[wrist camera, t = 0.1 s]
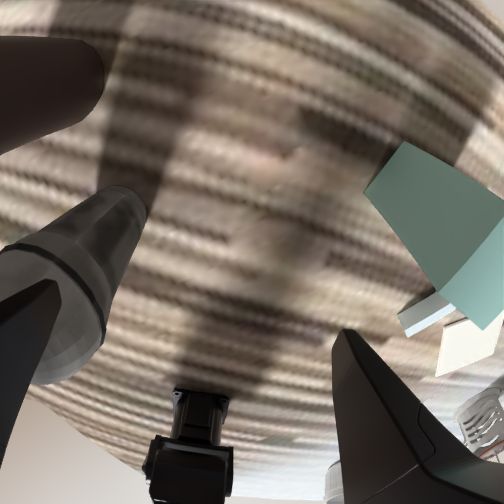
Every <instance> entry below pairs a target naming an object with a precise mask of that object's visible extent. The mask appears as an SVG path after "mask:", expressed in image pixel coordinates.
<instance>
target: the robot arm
mask: <svg viewBox="0 0 504 504" xmlns="http://www.w3.org/2000/svg"><path fill="white" fill-rule="evenodd" d="M61 305H62V299H61V294H60V290H59V285H58V282H57V281H56V280H54V279H49V278H45V279H43V280H41V281H39V282H37V283H35V284H33V285H31V286H29V287H27V288H25V289H23V290H21V291H19V292H17V293H15V294H13V295H11V296H10V297H8V298H6V299H4V300H2V301H0V468H1V465H2V461H3V458H4V455H5V451H6V447H7V444H8V441H9V438H10V435H11V433H12V430H13V427H14V424H15V421H16V418H17V416H18V413H19V410H20V408H21V405H22V402H23V400H24V397H25V395H26V392H27V390H28V387H29V385H30V382H31V380H32V378H33V375H34V373H35V371H36V368H37V366H38V364H39V362H40V359H41V357H42V355H43V353H44V351H45V348H46V346H47V344H48V341H49V339H50V336H51V333H52V330H53V327H54V325H55V322H56V319H57V317H58V314H59V311H60V309H61ZM332 393H333V403H334V411H335V419H336V427H337V435H338V444H339V453H340V463H341V473H342V483H343V495H344V504H504V464H502V463H496V462H491V461H487V460H484V459H481V458H479V457H478V456H476V455H475V454H473V453H472V452H471V451H470V450H469V449H468V448H467V447H466V446H465V445H464V444H462V443H461V442H460V441H459V440H458V439H457V438H456V437H455V436H454V435H453V434H452V433H451V432H450V431H449V430H447V429H446V428H445V427H444V426H443V425H442V424H441V423H440V422H439V421H438V420H437V419H436V418H435V416H434V415H433V414H432V413H431V412H430V411H429V410H428V409H427V408H426V407H425V406H424V405H423V403H421V401H420V400H419V399H418V398H417V397H416V396H415V395H414V394H413V392H412V391H411V390H410V389H409V388H408V387H407V386H406V385H405V384H404V383H403V381H402V380H401V379H400V378H399V377H398V376H397V375H396V374H395V373H394V372H393V370H392V369H391V368H390V367H389V366H388V365H387V364H386V363H385V362H384V361H383V360H382V359H381V357H380V356H379V355H378V354H377V353H376V352H375V351H374V350H373V349H372V348H371V347H370V346H369V344H368V343H367V342H366V341H365V340H364V339H363V338H362V337H361V336H360V335H359V334H358V333H357V332H356V331H355V330H354V329H345V328H344V329H341V331H340V332H339V334H338V336H337V339H336V341H335V343H334V345H333V347H332ZM228 404H229V398H228V397H226V396H219V395H212V394H206V393H199V392H193V391H187V390H182V389H174V390H173V413H174V420H173V425H172V430H171V435H170V438H167V437H162V436H161V435H156V437H155V439H153V440H151V444H150V448H149V452H148V454H147V456H146V459H145V461H144V463H143V465H142V471H143V472H144V473H145V478H146V484H149V485H150V487H149V493H150V497H151V499H152V503H153V504H224V502H225V497H230V496H231V492H232V485H233V447H231V446H229V447H225V446H220V441H221V430H222V425H223V424H224V421H225V417H226V412H227V408H228Z"/></svg>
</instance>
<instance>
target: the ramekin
mask: <svg viewBox="0 0 504 504" xmlns="http://www.w3.org/2000/svg"><path fill="white" fill-rule="evenodd" d="M324 503H325V504H344V495H343V483H342V473H341V463H340V462H339V463H337V464H335V465H333V466H332V467H331V468H330V469H329V470H328V471H327V473H326V478H325V495H324Z"/></svg>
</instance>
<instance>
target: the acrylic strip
mask: <svg viewBox="0 0 504 504" xmlns="http://www.w3.org/2000/svg"><path fill="white" fill-rule="evenodd" d="M455 309H457V308H456V307H454V306H453V305H452V304H451V303H450V302H448V301H447V300H446V299H445V298H444V297H442V296H441V295H440V294H439V293H438V292H435V293H434V294H432V295H430V296H429V297H427V298H425V299H424V300H422V301H420V302H419V303H417V304H415V305H413V306H412V307H410V308H408V309H406V310H405V311H403V312H401V313H399V314H398V315H397V316H398V318H399V320H400V322H401V324H402V326H403V329H404V331H405V333H406V335H407V337H410V336H412V335H413V334H415V333H417V332H419V331H420V330H422V329H424V328H426V327H427V326H429V325H431V324H433V323H434V322H436V321H438V320H439V319H441V318H443V317H444V316H446V315H447V314H449V313H451V312H452V311H454V310H455Z"/></svg>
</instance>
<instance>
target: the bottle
mask: <svg viewBox="0 0 504 504" xmlns="http://www.w3.org/2000/svg"><path fill="white" fill-rule="evenodd" d="M103 81H104V70H103V66H102V63H101V59H100V57H99V56H98V54H97V53H96V51H95V50H94V48H93V47H91V46H90V45H88V44H86V43H85V42H83V41H79V40H72V39H63V38H50V37H34V36H0V155H2V154H4V153H6V152H8V151H10V150H13V149H15V148H17V147H19V146H22V145H24V144H26V143H29V142H31V141H33V140H36V139H38V138H41V137H43V136H46V135H48V134H51V133H54V132H56V131H59V130H62V129H64V128H67V127H70V126H72V125H74V124H76V123H78V122H80V121H82V120H83V119H84V118H85V117H86V116H87V115H88V114H89V113H90V112H91V111H92V110H93V108H94V107H95V105H96V103H97V102H98V100H99V98H100V95H101V91H102V88H103Z"/></svg>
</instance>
